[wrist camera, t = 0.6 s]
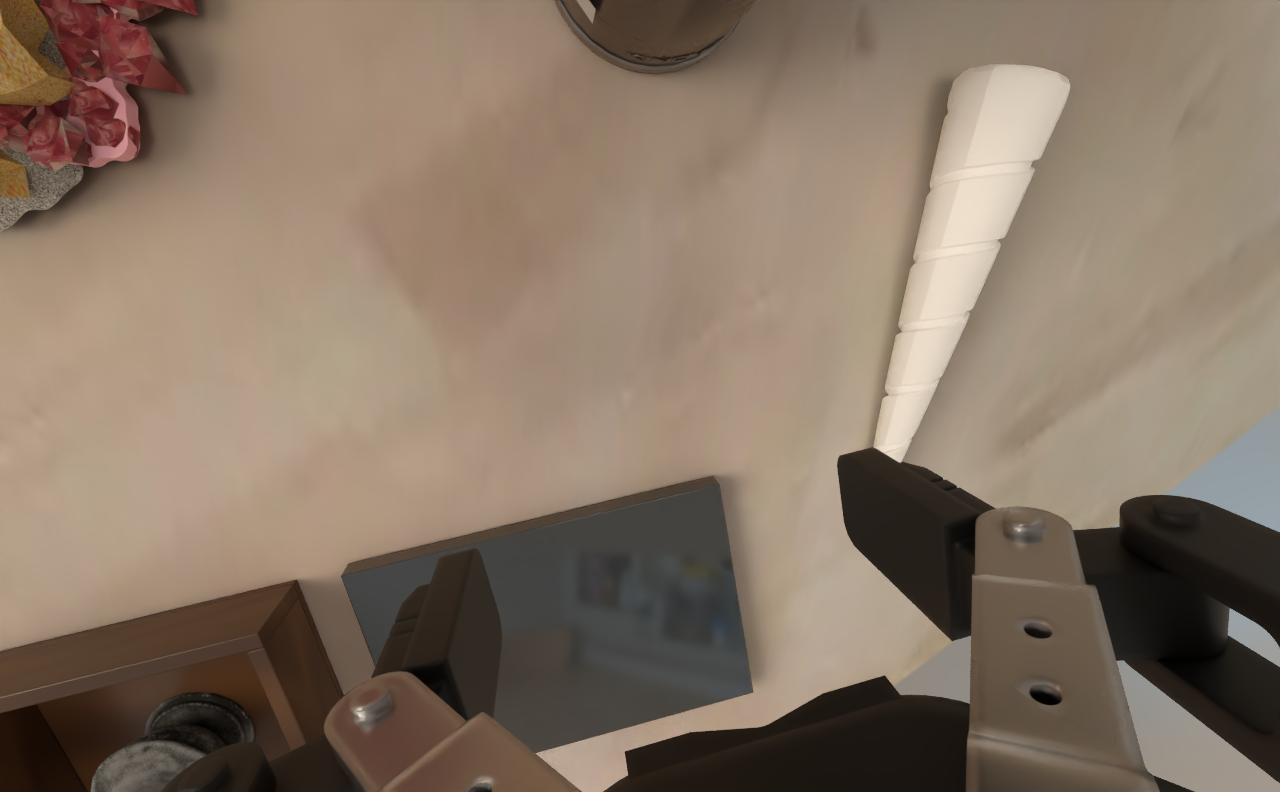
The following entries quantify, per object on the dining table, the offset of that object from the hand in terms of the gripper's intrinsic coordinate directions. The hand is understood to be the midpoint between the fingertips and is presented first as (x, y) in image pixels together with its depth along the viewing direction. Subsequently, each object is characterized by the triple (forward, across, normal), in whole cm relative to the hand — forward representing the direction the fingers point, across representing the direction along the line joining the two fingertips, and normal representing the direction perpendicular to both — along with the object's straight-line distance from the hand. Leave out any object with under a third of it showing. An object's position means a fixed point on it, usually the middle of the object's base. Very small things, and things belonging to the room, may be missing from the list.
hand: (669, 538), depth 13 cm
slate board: (+19, +5, +14) cm, 24 cm away
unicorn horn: (+19, -18, 0) cm, 26 cm away
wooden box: (+19, +25, +14) cm, 35 cm away
